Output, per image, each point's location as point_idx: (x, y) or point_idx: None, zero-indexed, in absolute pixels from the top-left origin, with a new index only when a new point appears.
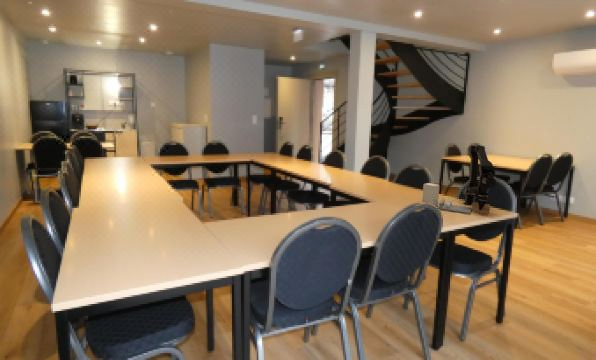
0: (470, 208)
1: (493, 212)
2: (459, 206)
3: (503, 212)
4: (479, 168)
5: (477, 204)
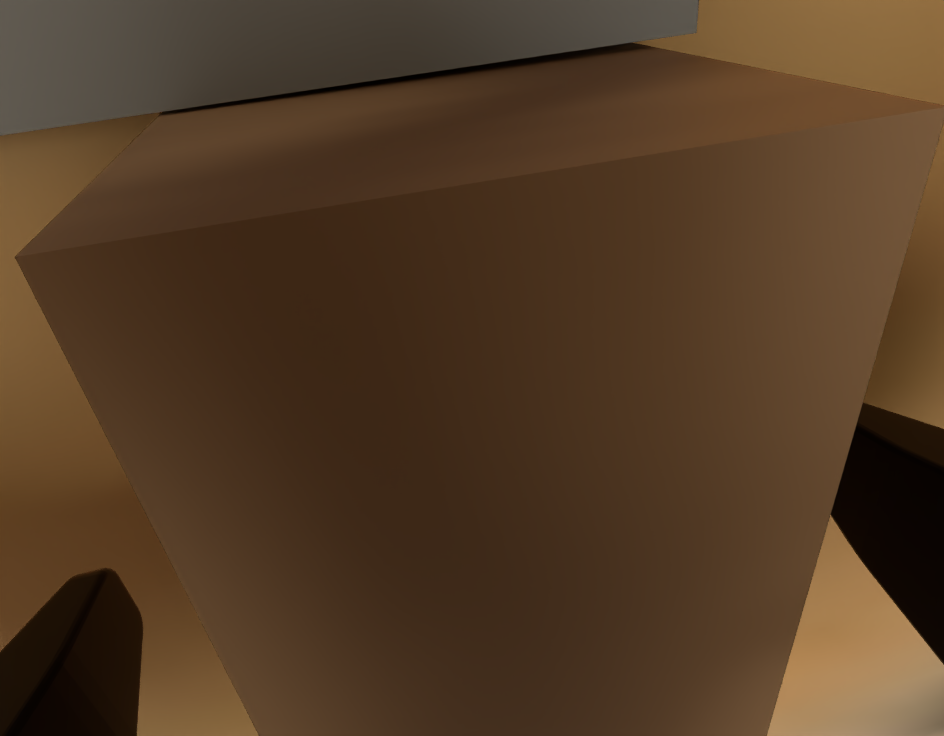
0: (402, 13)
1: None
2: None
3: (796, 718)
4: None
5: (298, 628)
